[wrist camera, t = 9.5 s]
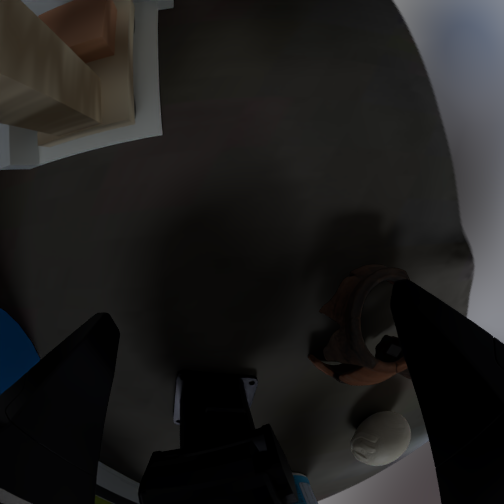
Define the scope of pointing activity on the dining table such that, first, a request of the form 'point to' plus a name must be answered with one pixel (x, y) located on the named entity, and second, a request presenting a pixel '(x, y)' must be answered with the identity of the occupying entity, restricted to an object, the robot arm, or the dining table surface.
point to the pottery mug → (360, 332)
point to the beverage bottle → (303, 489)
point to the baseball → (381, 438)
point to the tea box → (115, 487)
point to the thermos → (14, 352)
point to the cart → (67, 68)
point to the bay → (146, 125)
